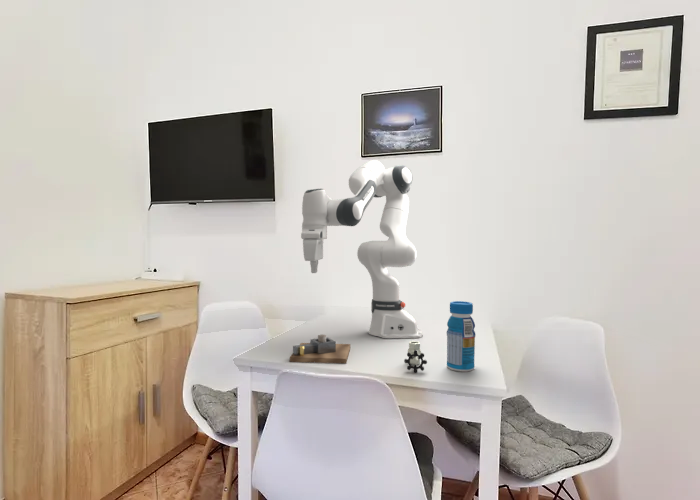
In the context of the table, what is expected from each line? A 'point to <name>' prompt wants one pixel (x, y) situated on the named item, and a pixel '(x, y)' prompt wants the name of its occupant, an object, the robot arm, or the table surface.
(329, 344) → the square loop paddle
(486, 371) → the table surface
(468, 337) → the beverage bottle
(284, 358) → the table surface
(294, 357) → the base
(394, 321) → the robot arm
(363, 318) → the table surface
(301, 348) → the dowel
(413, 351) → the valve
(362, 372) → the table surface
